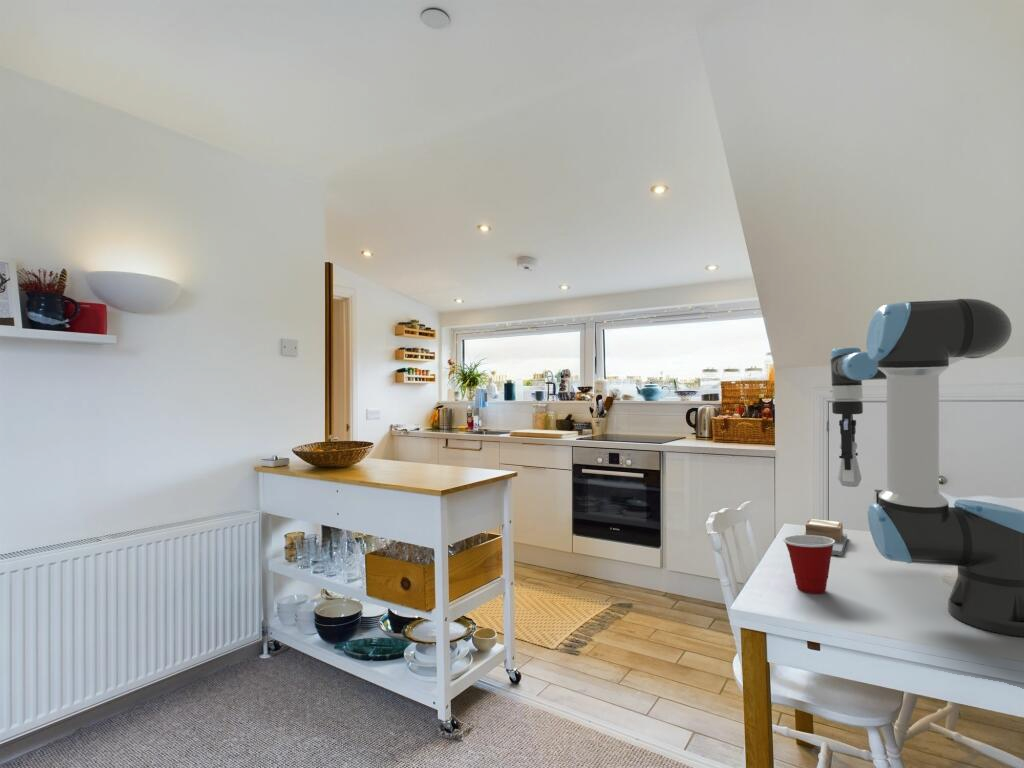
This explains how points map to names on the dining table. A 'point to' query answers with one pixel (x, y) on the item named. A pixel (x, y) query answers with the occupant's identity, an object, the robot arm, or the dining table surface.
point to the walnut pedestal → (825, 529)
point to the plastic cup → (810, 561)
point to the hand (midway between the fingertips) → (849, 479)
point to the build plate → (839, 546)
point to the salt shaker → (856, 470)
